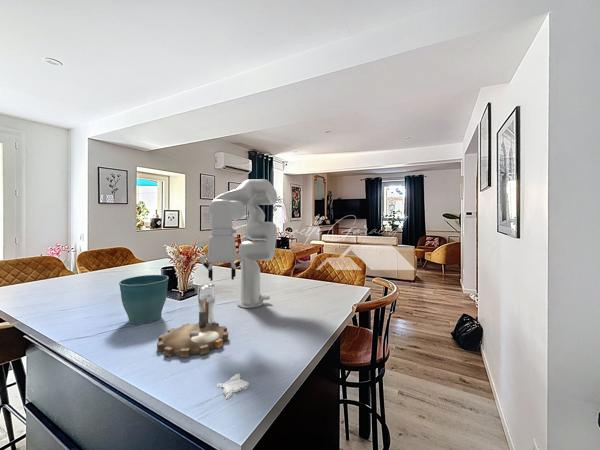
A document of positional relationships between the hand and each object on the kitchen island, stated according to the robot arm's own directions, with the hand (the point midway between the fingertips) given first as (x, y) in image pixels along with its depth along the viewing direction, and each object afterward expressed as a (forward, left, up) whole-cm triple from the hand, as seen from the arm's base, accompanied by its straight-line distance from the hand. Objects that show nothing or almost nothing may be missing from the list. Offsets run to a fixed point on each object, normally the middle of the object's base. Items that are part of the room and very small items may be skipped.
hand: (222, 279), depth 103 cm
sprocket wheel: (+9, +7, -20) cm, 23 cm away
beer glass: (+6, -11, -20) cm, 24 cm away
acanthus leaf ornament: (-2, +36, -21) cm, 42 cm away
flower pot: (+31, -21, -20) cm, 42 cm away
